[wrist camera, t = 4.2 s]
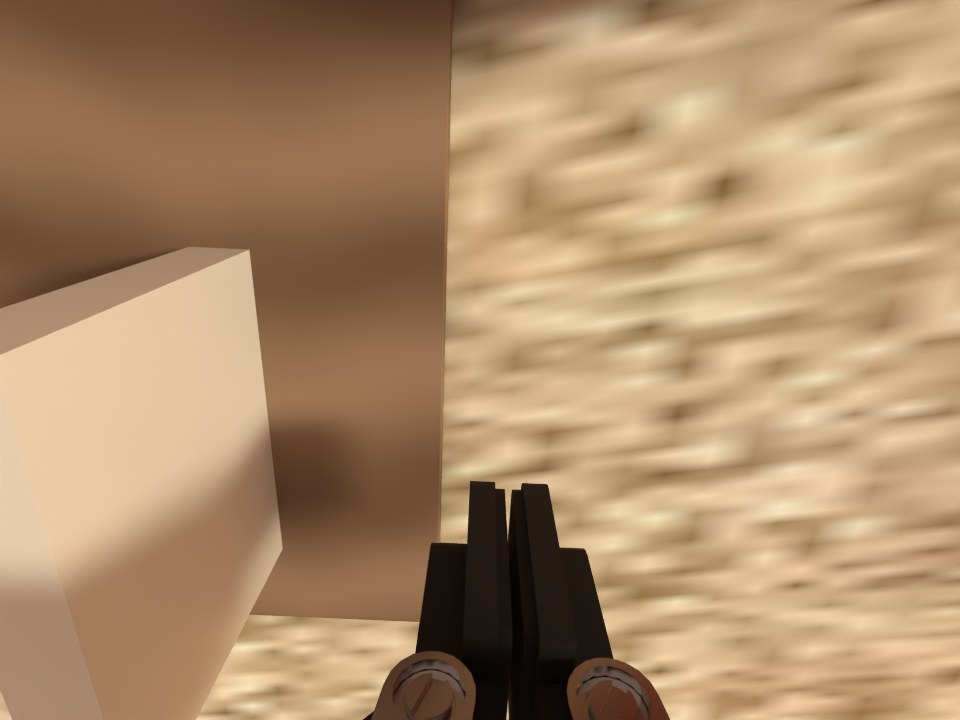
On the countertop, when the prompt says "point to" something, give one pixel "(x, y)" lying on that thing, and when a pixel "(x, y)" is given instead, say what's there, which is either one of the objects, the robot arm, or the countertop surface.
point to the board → (265, 235)
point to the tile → (132, 488)
